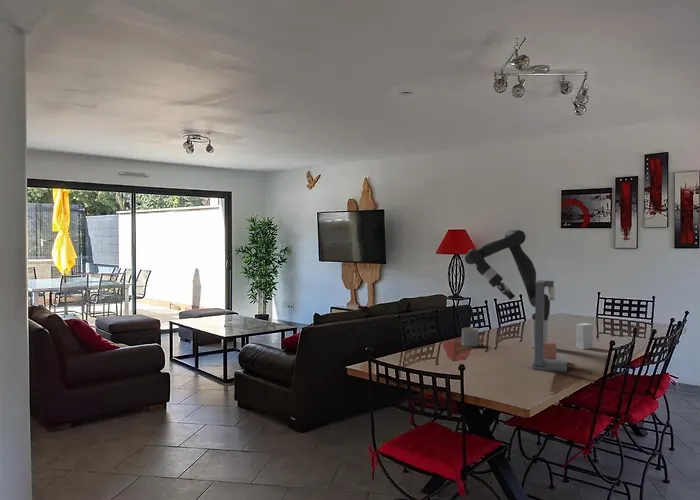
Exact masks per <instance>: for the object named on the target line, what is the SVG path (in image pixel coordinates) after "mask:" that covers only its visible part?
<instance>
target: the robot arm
mask: <svg viewBox="0 0 700 500" xmlns="http://www.w3.org/2000/svg"><path fill="white" fill-rule="evenodd" d="M526 238H527V237H526V234H525V232H524V231H523V230H520V229H513V230H512V229H511V230H508V231H506V233H504V238H501V239H498V240H494V241H491V242H487V243H485V244H483V245H481V246H479V247H478V248H477V249H475V248H471V249H469V250H468V252H466V254H465V256H464V261H465V263H467V264H468V265H475V266H476V271H477V272H478V273H479V274H480V275H481V276H482V278H484V280H485V281H487V282H488V284H489V285H490V286H491V287H492V288H497V289H498V290H499V292H501V293H502V295H503V296H506V297H507V298H508V299H509V301H510V300H513V299H514V298H515V297H516V295H515V294H514V293H513V292H512V291H511V289H510V288H509V286H507V285H506V284H505V283H504V282H502V281H503V280H504V278H503V277H502V276H501V275H500V274H499V273H498V271H496V270H495V269H494V268H493V267H492V266H491V265H490V264H489V263H488V262H487V261H486V259H485V258H488V257H489V256H492V255H494V254H496V253H498V252H501V251H503V250H506V249H508V248H509V251H510V252H511V255H512V257H513V259H514V260H513V261H514V262H515V264H516V267H517V270H518V272H519V275H520V277H521V280H522V282H523V285H524V287H525V291H526V294H527V297H528V301H529V303H530V305H531V306H532V307H533V308H535V300H536V282H537V272H536V268H535V266H534V263H533V261H532V260H531V258H530V257H529V256H528V255H527V253H525V251H524V250H523V248H522V246H521V245H522V244H523V243H525V241H526ZM550 311H551V300H548V295H547V294H546V293H544V342H549V341H548V339H549V338H548V337H549V336H548V335H549V334H548V333H549V329H548V328H549V316H550ZM531 348H532V349H533V348H534V349H535V312H534V313H532V315H531Z"/></svg>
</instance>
